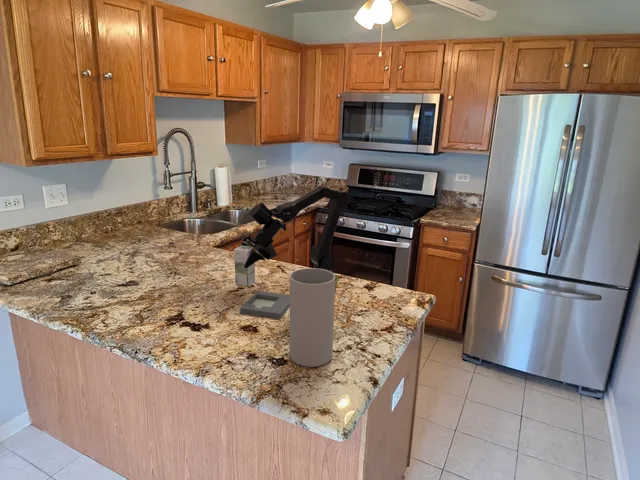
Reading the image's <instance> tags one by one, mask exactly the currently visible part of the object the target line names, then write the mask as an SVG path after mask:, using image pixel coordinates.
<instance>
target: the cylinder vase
mask: <svg viewBox="0 0 640 480" xmlns="http://www.w3.org/2000/svg"><path fill="white" fill-rule="evenodd" d="M335 275H336V274H335V272H333V271H332V272H330V271H328V270H324V269H318V268H316V267H308V268H305V267H304V268H300V269H297V270H294V271H292V272H291V273H290V275H289V295H290V307H289V357H290V360H292V362H293V363H295V364H297V365H299V366H301V367H305V368H306V367H309V368H315V367H321V366H324V365H326V364H327V363H329V362H330V361H331V359H333V358H332V357H333V355H334V354H333V351H334V348H333V347H334V328H335V327H334V324H335V323H334V322H335V300H336V299H335V297H336V292H335Z"/></svg>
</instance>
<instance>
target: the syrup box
mask: <svg viewBox="0 0 640 480" xmlns="http://www.w3.org/2000/svg"><path fill="white" fill-rule="evenodd" d="M252 249H253V250H255V249H254V247H248V246H241V245H239V246H237V247H236V248H234V249H233V255H234V257H233V258H234V273H235V275H234V276H235V277H234V279H235V286H238V287H246V288H249V287H251V286H252V285H254V284H255V283H256V271H255V270H256V267H255V265H256V264H255V263H256V262H255V263H254V264H252V265H251V266H249V267H248V268H245V267H244V265H245V263H246V261H247V259H248V256H249V254H250V252H251V250H252Z"/></svg>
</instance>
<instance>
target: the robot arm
mask: <svg viewBox="0 0 640 480" xmlns="http://www.w3.org/2000/svg"><path fill="white" fill-rule="evenodd" d="M324 198H327V199H328V208H329V211H328V212H327V213H328V214H327V217H326V219H325V223H324V226H323V229H322V232H321V235H320V239H319V241H318V243H317V244H316V245H314V244H313V245H312V247H311V250H310V252H309V256H310V257H309V258H310V260H311V262H312V263H313V264H314V266H316V267H315V268H318V269H324V270H328V271H330V272H332V273H333V271H334V270H335V266H336V264H335V263H334V262H332V261H331V252H332V251H331V244H332V242H333V239H334V236H335V232H336V229H337V226H338V224H339V220H340V217H341V214H342V213H343V212H344V210H346V209H347V207H348V205H349V203H350V199H351V197H350V194H349V193H348V192H346V191H343V190H339V189H330V188H329V187H327V186H324V185H319V186H317V187H316V188H314V189H313V190H311V191H310V192H308V193H306V194H304V195H302V196H300V197H298V198H297V199H295V200H292V201H287V202H284V203H281V204H279V205H277V206H276V207H274V208H268V207H267V205H266V204H265V203H263V202H259V203H258V204H256V205H255V206H253V207H252V208H251V209H250V210H249V212H248V217H250V218H252V220H254V221H255V222H256V223H257V224H258V225H259V226H262V227H261V228H258V229H256V230H257V233H256V234H255V236H254V237H253V236H249V235H248V234H243V235H242V236H241V238H240V239H241V240H240V242H241V243H240V246H248V247H254V250H253V249H252V250H251V252H250V254H249V256H248V259H247V261H246V263H245V265H244V267H245V268H248V267H249V266H251V265H252V264H254V263H257V262H259V261H266V260H267V261H269V260H272V259H274V258H276V256H278V253H277V251H276V249H275V248H274V246H273V243H274V237H276V235H277V234H278V233H279V231H280V230H282V231H284V232H286V231H287V224H286V223H289V222H291V221H292V220H293V219H295V218H296V217H297V216H298V215H299V213H300V212H301V211H303V210H305V209H306V208H308V207H309V206H311V205H313V204H315V203H316V202H319V201H320V200H322V199H324ZM281 221H282V222H281ZM285 222H286V223H285Z"/></svg>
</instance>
